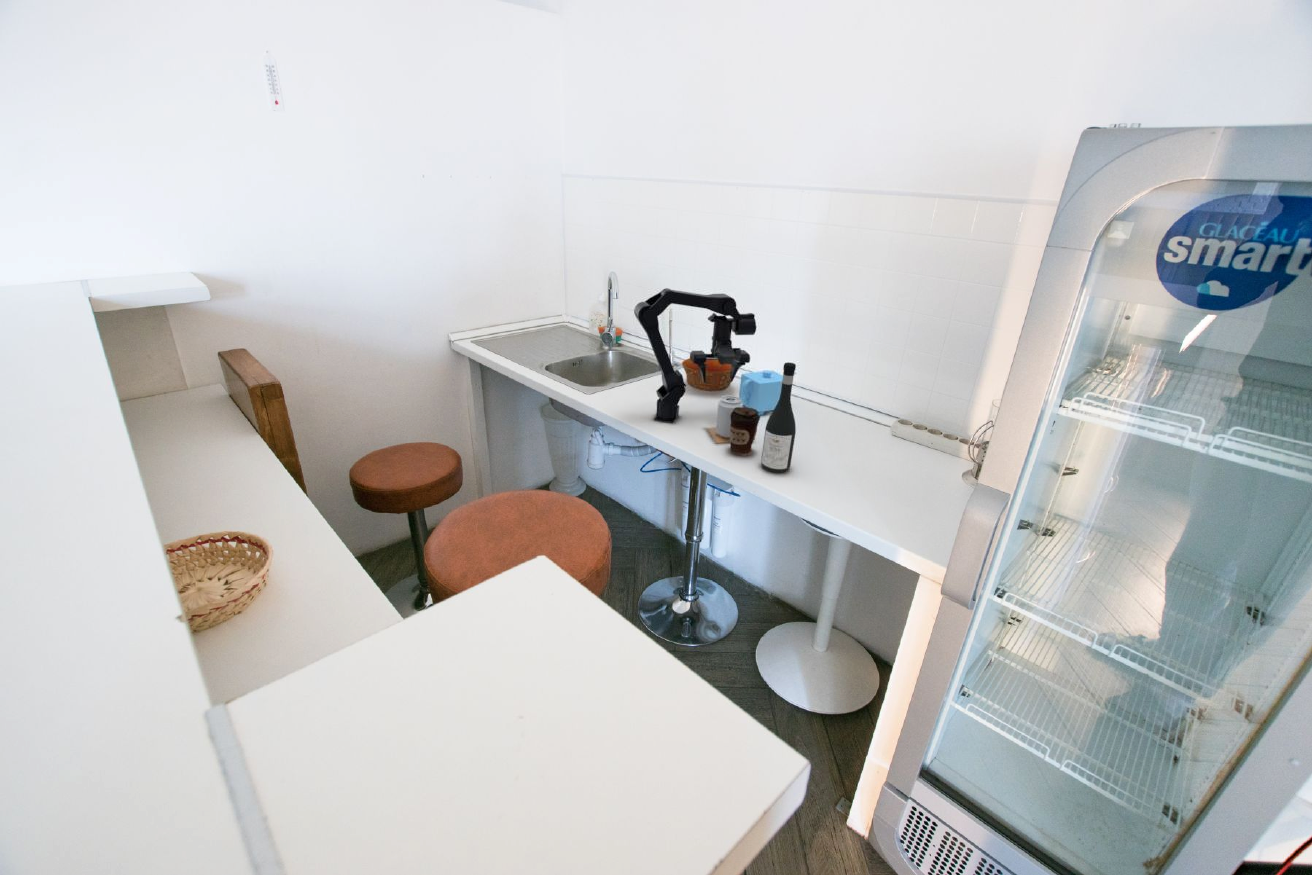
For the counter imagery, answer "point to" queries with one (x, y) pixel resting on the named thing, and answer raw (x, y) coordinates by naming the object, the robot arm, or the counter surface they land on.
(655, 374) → the counter surface
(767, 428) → the wine bottle
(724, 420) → the can
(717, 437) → the coaster
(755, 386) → the teapot
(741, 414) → the coffee cup
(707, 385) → the bowl
